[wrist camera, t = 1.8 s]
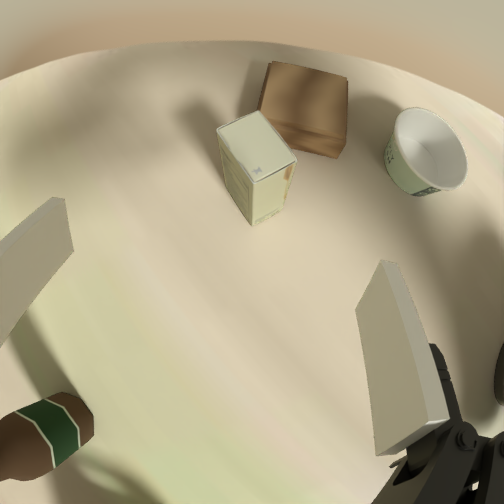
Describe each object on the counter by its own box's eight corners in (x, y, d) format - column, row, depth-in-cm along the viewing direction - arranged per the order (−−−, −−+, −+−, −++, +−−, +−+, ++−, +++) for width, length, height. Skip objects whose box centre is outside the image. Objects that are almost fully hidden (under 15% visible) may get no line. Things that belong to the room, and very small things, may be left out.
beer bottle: (44, 391, 29) (-85, 434, 6) (85, 388, 30) (-55, 451, 6) (63, 441, 28) (-45, 510, 5) (105, 441, 29) (-3, 537, 5)
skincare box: (283, 210, 34) (302, 163, 22) (251, 228, 34) (255, 188, 22) (254, 167, 35) (259, 106, 23) (223, 183, 35) (214, 127, 23)
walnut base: (340, 97, 38) (350, 76, 33) (336, 158, 36) (348, 139, 31) (266, 81, 38) (269, 58, 33) (252, 141, 36) (253, 118, 31)
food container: (371, 122, 37) (389, 96, 31) (437, 141, 37) (459, 121, 31) (377, 198, 35) (400, 179, 29) (447, 212, 35) (475, 198, 29)
